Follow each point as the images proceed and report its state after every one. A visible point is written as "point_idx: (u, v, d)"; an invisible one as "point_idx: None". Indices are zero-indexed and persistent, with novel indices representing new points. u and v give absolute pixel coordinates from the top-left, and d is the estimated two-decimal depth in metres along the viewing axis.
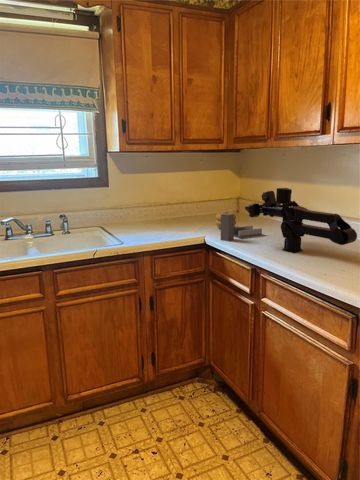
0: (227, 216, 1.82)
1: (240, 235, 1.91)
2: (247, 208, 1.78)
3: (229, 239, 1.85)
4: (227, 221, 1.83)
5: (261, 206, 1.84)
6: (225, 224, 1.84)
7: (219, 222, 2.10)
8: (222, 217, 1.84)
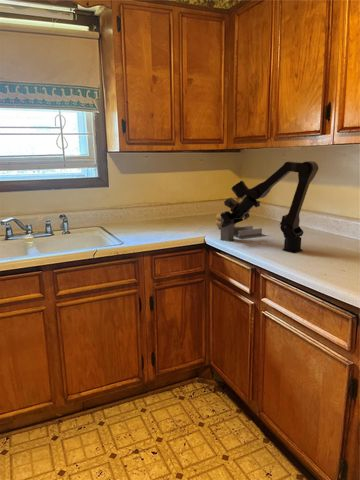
0: None
1: (240, 235, 1.91)
2: (223, 224, 1.83)
3: (229, 239, 1.85)
4: None
5: None
6: None
7: (219, 222, 2.10)
8: None
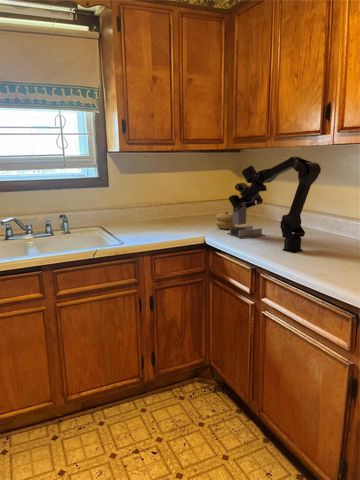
0: None
1: (240, 235, 1.91)
2: (234, 207, 1.90)
3: (239, 223, 1.91)
4: None
5: None
6: None
7: (219, 222, 2.10)
8: None
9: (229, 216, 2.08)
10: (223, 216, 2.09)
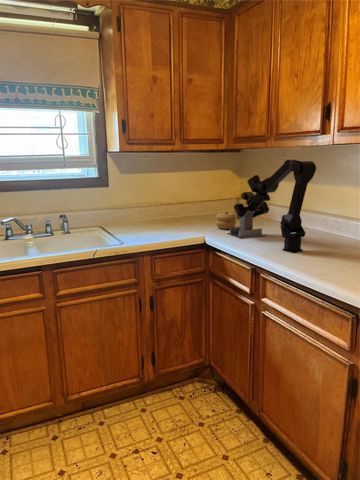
0: None
1: (240, 235, 1.91)
2: (237, 216, 1.93)
3: None
4: (243, 216, 1.93)
5: (253, 215, 1.98)
6: (242, 218, 1.95)
7: (219, 222, 2.10)
8: None
9: (229, 216, 2.08)
10: (223, 216, 2.09)
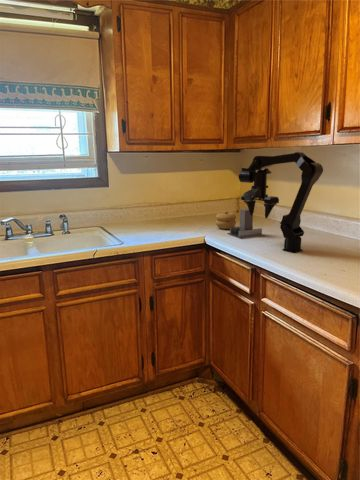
0: (244, 211, 1.93)
1: (240, 235, 1.91)
2: (267, 213, 1.72)
3: None
4: (243, 216, 1.93)
5: (252, 211, 1.80)
6: (242, 218, 1.95)
7: (219, 222, 2.10)
8: (240, 212, 1.95)
9: (229, 216, 2.08)
10: (223, 216, 2.09)
